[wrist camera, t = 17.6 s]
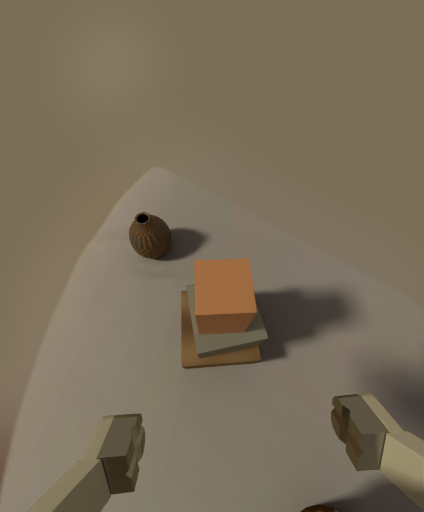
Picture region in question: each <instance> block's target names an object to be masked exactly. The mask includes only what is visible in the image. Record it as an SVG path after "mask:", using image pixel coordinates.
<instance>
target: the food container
mask: <svg viewBox="0 0 424 512" xmlns="http://www.w3.org/2000/svg"><path fill="white" fill-rule="evenodd" d="M301 512H338V511H337V510H335V509H333V508H331V507H326V506H322V505H315V506H311V507H307V508H305V509H304V510H302V511H301Z"/></svg>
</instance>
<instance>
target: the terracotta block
mask: <svg viewBox="0 0 424 512" xmlns="http://www.w3.org/2000/svg"><path fill="white" fill-rule="evenodd" d="M256 313H257V309H256V303H255V296H254V289H253V283H252V276H251V269H250V263H249V259H224V260H197V261H195V317H196V322H197V327H198V332H199V335H202V334H222V333H243V332H244V331H245V330H246V328H247V327H248V325H249V324H250V322H251V321H252V319H253V318H254V316H255V315H256Z"/></svg>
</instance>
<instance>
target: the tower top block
mask: <svg viewBox="0 0 424 512" xmlns="http://www.w3.org/2000/svg"><path fill="white" fill-rule="evenodd" d="M186 288H187V294H188V301H189V307H190V313H191V320H192V326H193V332H194V338H195V345H196V351H197V355H198V357H199V358H204V357H209V356H213V355H217V354H222V353H226V352H231V351H235V350H240V349H244V348H249V347H253V346H257V345H261V344H262V343H263V342H264V341H265V340H267V339H268V336H267V332H266V329H265V326H264V323H263V320H262V316H261V313H260V310H259V307H258V304H257V301H256V297H255V303H256V309H257V313H256V315H255V316H254V318H253V319H252V321H251V322H250V324H249V325H248V327H247V328H246V330H245V331H244V332H243V333H222V334H202V335H199V332H198V327H197V322H196V317H195V284H193V285H188V286H186ZM254 296H255V294H254Z"/></svg>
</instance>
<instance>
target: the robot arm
mask: <svg viewBox="0 0 424 512" xmlns="http://www.w3.org/2000/svg"><path fill="white" fill-rule="evenodd" d="M332 404H333V406H334V407H335V408H334V409H333V410H332V411H331V421H332V425H333V428H334V431H335V433H336V435H337V437H338V438H339V439H340V440H341V441H342V442H343V443H345V444H346V453H347V454H348V456H349V458H350V460H351V462H352V463H353V465H354V467H355V469H356V470H357V471H363V470H380V472H381V473H382V474H383V475H385V476H386V477H387V478H388V479H389V480H390V481H391V482H392V483H393V484H394V485H396V486H397V487H398V488H399V489H400V490H401V491H402V492H403V493H404V494H406V495H407V496H408V497H409V498H410V499H411V500H412V501H413V502H414V503H415V504H417V505H418V506H419V507H420V508H421V509H422V510H423V511H424V441H423V440H422V439H420V438H418V437H417V436H415V435H414V434H412V433H410V432H409V431H404V430H403V429H402V428H401V427H400V426H399V425H398V424H397V422H396V421H395V420H394V419H393V418H392V417H391V415H390V414H389V413H388V412H387V411H386V410H385V408H384V407H383V406H382V405H381V404H380V403H379V402H378V400H377V399H376V398H375V397H374V396H373V395H372V394H370V393H366V394H352V395H342V396H334V397H333V399H332ZM142 420H143V419H142V415H141V414H124V415H110V416H104V417H103V418H102V419H101V420H100V422H99V425H98V427H97V429H96V431H95V433H94V435H93V438H92V440H91V442H90V444H89V446H88V448H87V451H86V453H85V455H84V457H83V459H82V460H81V461H77V462H76V463H75V464H74V465H73V466H72V467H71V468H70V469H69V470H68V471H67V472H66V473H65V474H64V475H63V476H62V477H61V478H60V479H59V480H58V481H57V482H56V483H55V484H54V485H53V486H52V487H51V488H50V489H49V490H48V491H47V492H46V493H45V494H44V495H43V496H42V497H41V498H40V499H39V500H38V501H37V502H36V503H35V504H34V505H33V506H32V507H31V508H30V509H29V510H28V511H27V512H101V510H102V509H103V507H104V506H105V504H106V503H107V501H108V500H109V498H110V497H111V495H112V494H120V493H128V492H134V490H135V486H136V482H137V478H138V473H139V466H138V462H139V460H140V459H141V458H142V456H143V452H144V446H145V430H144V428H143V427H142V426H141V424H142Z"/></svg>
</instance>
